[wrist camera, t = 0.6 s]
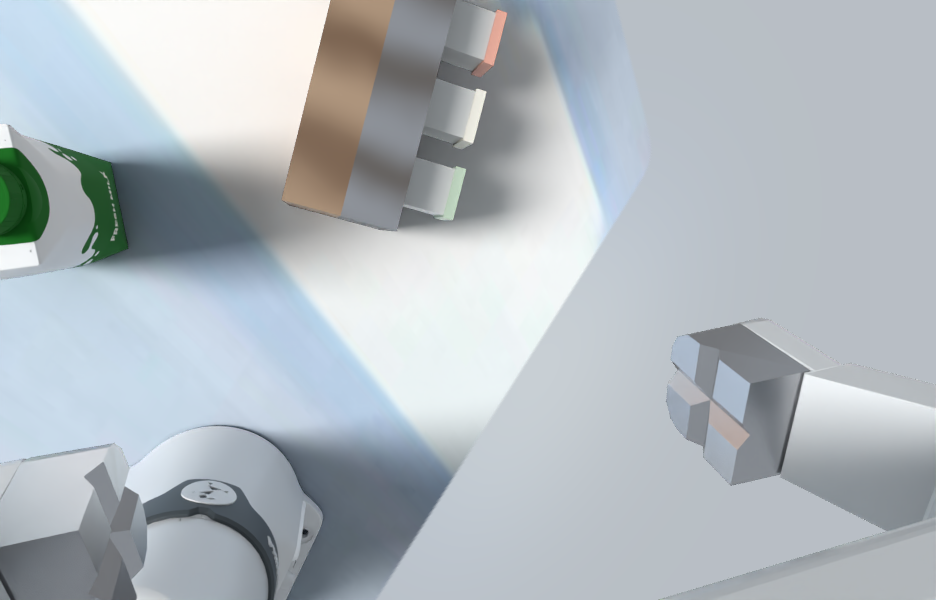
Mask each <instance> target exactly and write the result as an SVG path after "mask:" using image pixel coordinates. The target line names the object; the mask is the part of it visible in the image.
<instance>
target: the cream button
mask: <svg viewBox="0 0 936 600" xmlns="http://www.w3.org/2000/svg"><path fill="white" fill-rule="evenodd" d="M486 93H487V92H486V91H483V90H480V89H475V90H474V91H473V90H470V89H467V88H464V87H461V86H458V85H455V84H452V83H449V82H446V81H444V80H441V79H438V78H436V81H435V85H434V89H433V93H432V97H431V101H430V105H429V109H428V112H427V116H426V120H425V124H424V128H423V132H422V134H424V135H427V136H430V137H433V138H436V139H439V140H443V141H446V142H449V143H452V144H453V146H452V147H455V148H458V149H461V150H462V149H463V148H465V147H467V146H469V145H471V144H473V142H474V138H475V135H476V131H477V127H478V123H479V119H480V115H481V112H482V108H483V104H484V100H485V96H486Z"/></svg>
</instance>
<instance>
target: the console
mask: <svg viewBox="0 0 936 600" xmlns="http://www.w3.org/2000/svg"><path fill="white" fill-rule="evenodd" d="M455 4H456V0H331V1H330V5H329V9H328V13H327V17H326V21H325V25H324V29H323V33H322V38H321V42H320V46H319V50H318V54H317V58H316V62H315V66H314V70H313V74H312V78H311V82H310V86H309V90H308V94H307V98H306V102H305V106H304V110H303V115H302V119H301V123H300V127H299V131H298V135H297V139H296V143H295V147H294V151H293V155H292V159H291V163H290V167H289V171H288V175H287V179H286V183H285V187H284V192H283V196H282V201H284V202H285V203H287V204H288V205H291V206H294V207H298V208H302V209H305V210H309V211H313V212H317V213H320V214H324V215H328V216H331V217H335V218H339V219H342V220H346V221H350V222H353V223H357V224H361V225H365V226H368V227H372V228H376V229H379V230H388V231H397V229H398V225H399V221H400V217H401V213H402V209H403V205H404V202H405V198H406V194H407V190H408V186H409V182H410V178H411V174H412V171H413V167H414V163H415V159H416V155H417V151H418V147H419V143H420V140H421V136H422V132H423V128H424V124H425V120H426V116H427V112H428V109H429V105H430V101H431V97H432V93H433V89H434V85H435V81H436V78H437V74H438V70H439V66H440V62H441V58H442V54H443V50H444V47H445V43H446V39H447V35H448V31H449V27H450V23H451V19H452V15H453V12H454V8H455Z"/></svg>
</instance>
